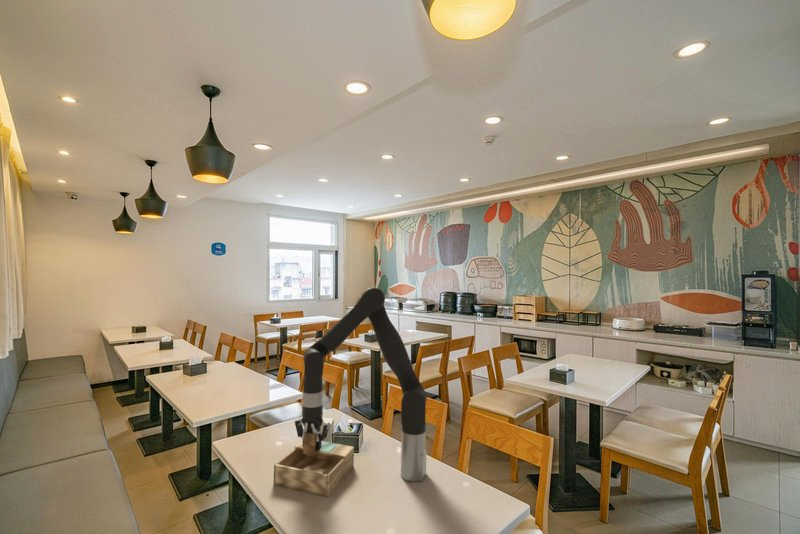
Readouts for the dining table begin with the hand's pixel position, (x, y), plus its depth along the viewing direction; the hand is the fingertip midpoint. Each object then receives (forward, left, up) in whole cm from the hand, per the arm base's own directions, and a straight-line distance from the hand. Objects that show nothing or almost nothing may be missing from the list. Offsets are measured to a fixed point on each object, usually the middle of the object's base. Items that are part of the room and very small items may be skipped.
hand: (311, 449), depth 133 cm
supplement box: (+7, -22, -12) cm, 26 cm away
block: (0, 0, -1) cm, 1 cm away
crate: (0, -4, -11) cm, 12 cm away
